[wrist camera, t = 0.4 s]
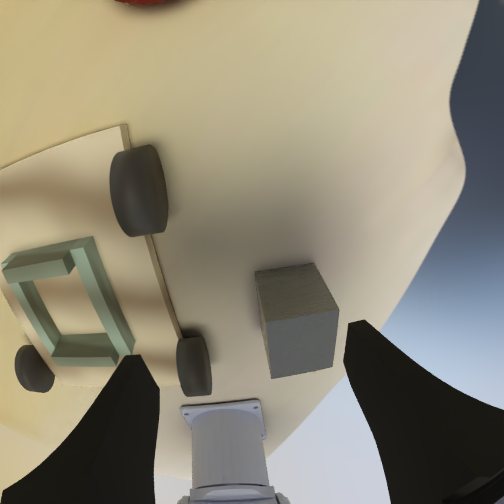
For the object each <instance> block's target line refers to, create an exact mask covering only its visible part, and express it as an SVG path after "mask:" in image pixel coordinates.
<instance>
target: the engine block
mask: <svg viewBox="0 0 504 504" xmlns="http://www.w3.org/2000/svg"><path fill="white" fill-rule="evenodd" d="M255 279H256V287H257V296H258V304H259V313H260V321H261V329H262V334H263V339H264V344H265V349H266V354H267V359H268V364H269V369H270V374H271V379H274V378H280V377H286V376H291V375H297V374H302V373H307V372H312V371H316V370H321V369H325V368H330V367H332V366H333V359H334V351H335V344H336V335H337V327H338V318H339V308H338V306H337V304H336V302H335V300H334V298H333V296H332V295H331V293H330V291H329V289H328V287H327V285H326V284H325V282H324V280H323V278H322V276H321V274H320V273H319V271H318V269H317V267H316V265H315V264H314V263H310V264H304V265H297V266H291V267H284V268H278V269H271V270H264V271H257V272H255Z"/></svg>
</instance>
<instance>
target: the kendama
mask: <svg viewBox="0 0 504 504" xmlns="http://www.w3.org/2000/svg"><path fill="white" fill-rule="evenodd" d="M116 1H119V2H122V3H126V4H127V5H129V6H135V5H146V4H153V3H159V2H163V1H166V0H116Z"/></svg>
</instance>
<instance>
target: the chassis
mask: <svg viewBox="0 0 504 504" xmlns="http://www.w3.org/2000/svg"><path fill="white" fill-rule="evenodd" d="M167 219H168V203H167V192H166V185H165V179H164V174H163V170H162V166H161V162H160V159H159V157H158V154H157V152H156V150H155V149H154V147H153V146H152V145H146V146H142V147H137V148H133V149H131V147H130V141H129V136H128V130H127V124H124V125H120V126H116V127H113V128H109V129H106V130H102V131H99V132H96V133H93V134H89V135H86V136H83V137H80V138H77V139H74V140H71V141H69V142H66V143H63V144H60V145H58V146H55V147H52V148H50V149H47V150H44V151H42V152H39V153H37V154H35V155H32V156H30V157H27V158H25V159H23V160H21V161H18V162H16V163H14V164H12V165H10V166H7V167H5V168H3V169H1V170H0V288H1V290H2V292H3V294H4V296H5V298H6V300H7V302H8V304H9V306H10V307H11V309H12V311H13V313H14V314H15V316H16V318H17V320H18V321H19V323H20V325H21V326H22V328H23V330H24V331H25V333H26V334H27V336H28V338H29V339H30V341H31V342H32V344H33V345H24V346H22V347H21V348H20V349H19V350H18V352H17V354H16V357H15V372H16V376H17V378H18V380H19V382H20V384H21V385H22V386H23V387H24V388H25V389H26V390H28V391H33V392H41V393H45V392H48V391H49V390H50V389H51V388H52V386H53V383H54V379H55V376H56V377H57V379H58V380H59V381H60V382H61V384H62V385H69V386H86V387H104V386H105V385H106V383H107V382H108V380H109V379H110V377H111V376H112V374H113V372H114V371H115V369H116V368H117V366H118V365H119V363H120V362H121V361H122V359H123V358H124V356H125V355H137V354H141V356H142V358H143V360H144V362H145V364H146V366H147V367H148V369H149V371H150V373H151V375H152V376H153V378H154V380H155V382H156V383H157V385H158V387H162V386H180V385H181V388H182V390H183V392H184V394H185V395H186V396H187V397H192V396H205V395H211V392H212V375H211V366H210V360H209V354H208V350H207V346H206V343H205V340H204V338H203V337H193V338H183V337H182V334H181V331H180V328H179V325H178V322H177V319H176V317H175V314H174V311H173V308H172V305H171V302H170V299H169V295H168V292H167V289H166V286H165V283H164V280H163V276H162V273H161V270H160V266H159V263H158V259H157V256H156V252H155V249H154V245H153V242H152V238H151V234H155V233H161V232H164V231H165V229H166V226H167Z"/></svg>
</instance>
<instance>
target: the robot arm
mask: <svg viewBox="0 0 504 504" xmlns="http://www.w3.org/2000/svg"><path fill="white" fill-rule="evenodd" d="M343 362H344V366H345V369H346V372H347V375H348V378H349V382H350V385H351V387H352V389H353V392H354V394H355V396H356V398H357V400H358V403H359V405H360V407H361V409H362V411H363V413H364V415H365V418H366V420H367V422H368V424H369V427H370V429H371V431H372V433H373V436H374V439H375V441H376V444H377V448H378V451H379V454H380V458H381V461H382V465H383V469H384V473H385V477H386V481H387V486H388V490H389V496H390V501H391V504H504V410H502V409H499V408H497V407H494V406H491V405H488V404H486V403H484V402H481V401H479V400H477V399H475V398H473V397H471V396H469V395H466V394H464V393H462V392H461V391H459V390H457V389H455V388H453V387H451V386H450V385H448V384H447V383H445V382H443V381H442V380H440V379H438V378H437V377H436V376H434V375H432V374H431V373H430V372H428V371H427V370H426V369H424V368H423V367H421V366H420V365H419V364H417V363H416V362H415V361H413V360H412V359H411V358H410V357H408V356H407V355H406V354H405V353H403V352H402V351H401V350H400V349H399V348H397V347H396V346H395V345H394V344H393V343H391V342H390V341H389V340H388V339H387V338H386V337H384V336H383V335H382V334H381V333H380V332H379V331H377V330H376V329H375V328H374V327H373V326H372V325H371V324H369V323H368V322H367V321H366V320H360V321H356V322H352V323H348V331H347V339H346V346H345V353H344V359H343ZM181 413H182V415H183V416H184V418H185V420H186V421H187V423H188V425H189V426H190V428H191V430H192V482H193V483H192V485H193V489H190V496H183V497H182V499H180V500H179V501H178V503H177V504H290V502H289V500H288V498H287V497H285V496H283V494H281V493H275V491H274V487H273V486H269V480H268V474H267V467H266V461H265V455H264V448H263V442H262V440H264V439H266V434H265V428H264V422H263V416H262V411H261V405H260V401H259V400H249V401H241V402H233V403H224V404H213V405H201V406H185V407H181ZM159 414H160V389H159V387H158V385H157V383H156V382H155V380H154V378H153V376H152V375H151V373H150V371H149V369H148V367H147V366H146V364H145V362H144V360H143V358H142V356H141V354H137V355H125V356H124V358H123V359H122V361H121V362H120V363H119V365H118V366H117V368H116V369H115V371H114V372H113V374H112V376H111V377H110V379H109V380H108V382H107V383H106V385H105V386H104V388H103V389H102V391H101V392H100V394H99V395H98V397H97V398H96V400H95V401H94V403H93V404H92V405H91V407H90V408H89V410H88V411H87V412H86V414H85V415H84V416H83V418H82V419H81V421H80V422H79V423H78V425H77V426H76V427H75V428H74V430H73V431H72V432H71V433H70V434H69V435H68V437H67V438H66V439H65V440H64V441H63V442H62V443H61V445H60V446H59V447H58V448H57V449H56V450H55V451H54V452H53V453H51V455H49V457H47V459H45V460H44V461H43V462H42V463H41V464H40V465H39V466H37V467H36V468H35V469H34V470H33V471H31V472H30V473H29V474H27V475H26V476H25V477H24V478H22V479H21V480H19V481H18V482H16V483H14V484H13V485H11V486H10V487H8V488H7V489H5V490H3V492H2V497H1V503H0V504H155V493H154V459H155V449H156V440H157V432H158V423H159Z"/></svg>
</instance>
